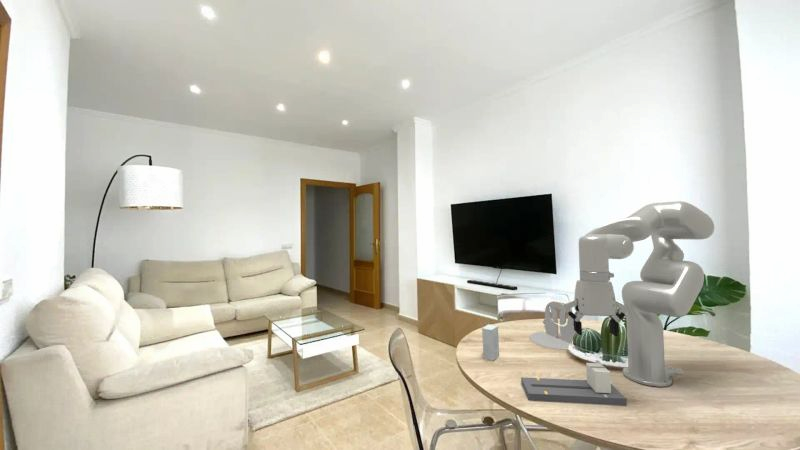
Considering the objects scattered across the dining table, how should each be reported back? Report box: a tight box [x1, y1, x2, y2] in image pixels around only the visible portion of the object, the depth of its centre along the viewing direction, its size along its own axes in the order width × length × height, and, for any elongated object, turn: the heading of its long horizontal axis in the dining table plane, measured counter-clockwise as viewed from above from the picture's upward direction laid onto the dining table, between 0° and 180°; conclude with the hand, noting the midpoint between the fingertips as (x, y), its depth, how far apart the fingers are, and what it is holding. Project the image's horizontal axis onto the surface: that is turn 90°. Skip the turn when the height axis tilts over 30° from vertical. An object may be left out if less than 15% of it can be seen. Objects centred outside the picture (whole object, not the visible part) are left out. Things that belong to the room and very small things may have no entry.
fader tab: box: [585, 362, 612, 393], centre depth 93 cm, size 4×6×6 cm
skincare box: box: [481, 323, 500, 362], centre depth 122 cm, size 6×4×12 cm
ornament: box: [528, 301, 576, 351], centre depth 137 cm, size 22×13×17 cm, turn 17°
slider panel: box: [520, 376, 628, 407], centre depth 94 cm, size 26×10×2 cm, turn 81°
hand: (596, 334), depth 93 cm, fingers open, 9 cm apart
